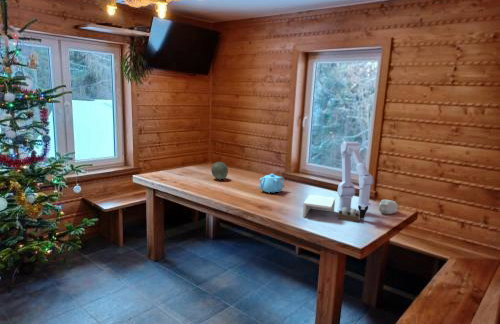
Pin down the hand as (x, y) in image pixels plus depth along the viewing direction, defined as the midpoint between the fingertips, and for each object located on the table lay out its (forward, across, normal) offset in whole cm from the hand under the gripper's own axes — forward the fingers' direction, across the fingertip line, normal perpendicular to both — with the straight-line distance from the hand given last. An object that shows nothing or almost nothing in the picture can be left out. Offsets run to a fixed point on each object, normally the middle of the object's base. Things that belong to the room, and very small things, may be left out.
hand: (362, 218), depth 203 cm
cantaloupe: (+2, +53, +116) cm, 128 cm away
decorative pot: (+2, +37, +66) cm, 76 cm away
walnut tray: (+1, 0, +7) cm, 8 cm away
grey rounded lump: (+2, +23, -15) cm, 27 cm away
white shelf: (+1, 0, +25) cm, 25 cm away
